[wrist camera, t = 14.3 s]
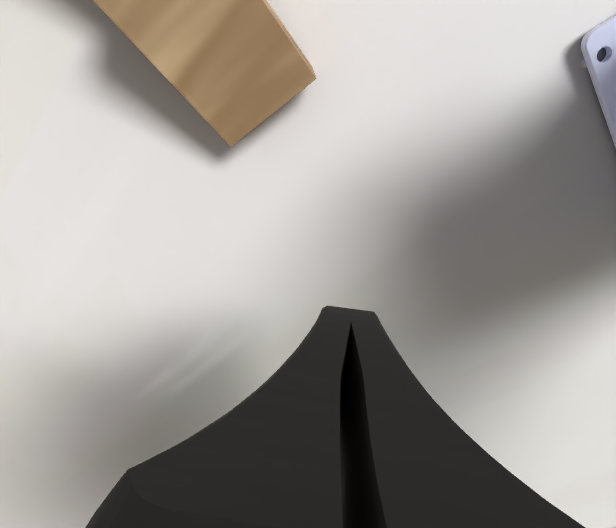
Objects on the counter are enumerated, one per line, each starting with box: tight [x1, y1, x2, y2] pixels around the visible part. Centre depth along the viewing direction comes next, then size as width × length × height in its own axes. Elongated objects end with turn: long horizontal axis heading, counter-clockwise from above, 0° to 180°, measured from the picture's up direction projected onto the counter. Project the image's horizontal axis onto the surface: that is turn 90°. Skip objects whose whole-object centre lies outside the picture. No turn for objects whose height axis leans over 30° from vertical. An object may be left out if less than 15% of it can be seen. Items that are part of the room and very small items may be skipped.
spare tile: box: [93, 0, 316, 147], centre depth 15 cm, size 2×4×7 cm
